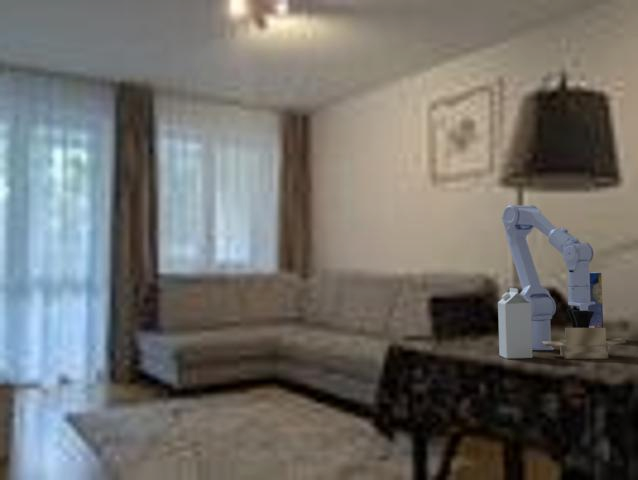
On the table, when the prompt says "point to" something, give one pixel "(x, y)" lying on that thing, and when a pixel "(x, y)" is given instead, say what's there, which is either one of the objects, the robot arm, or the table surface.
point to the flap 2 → (615, 341)
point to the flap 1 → (585, 336)
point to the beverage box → (596, 300)
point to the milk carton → (514, 326)
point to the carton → (579, 350)
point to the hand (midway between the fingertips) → (580, 335)
